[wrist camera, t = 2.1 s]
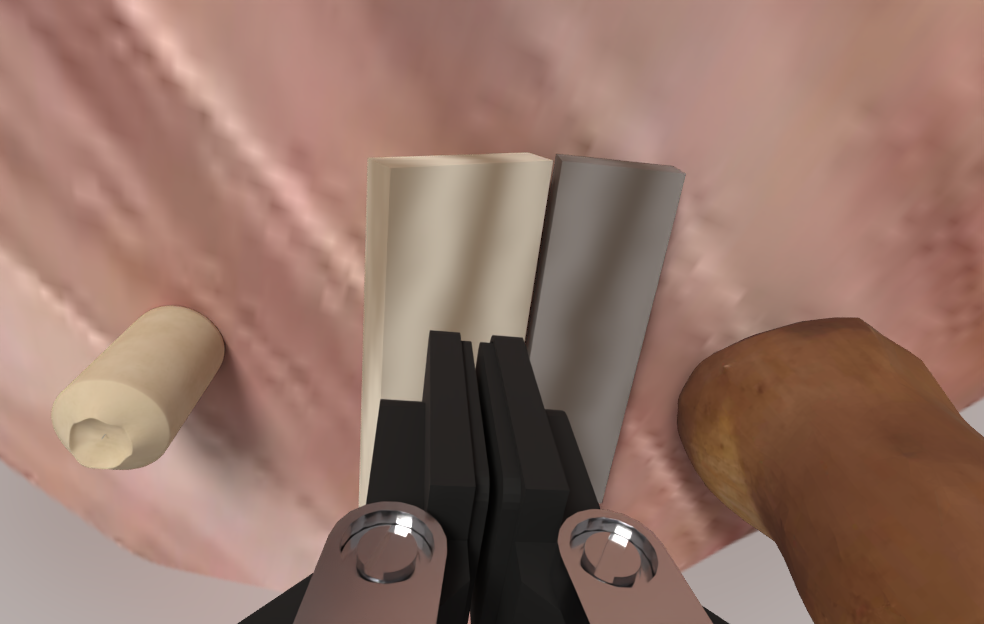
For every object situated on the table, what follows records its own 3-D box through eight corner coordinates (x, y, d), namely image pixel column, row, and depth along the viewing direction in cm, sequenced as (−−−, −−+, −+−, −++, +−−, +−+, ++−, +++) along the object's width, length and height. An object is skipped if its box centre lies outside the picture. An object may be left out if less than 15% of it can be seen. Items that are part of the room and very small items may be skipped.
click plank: (528, 152, 33) (553, 160, 32) (481, 484, 43) (499, 501, 42) (367, 157, 27) (390, 168, 25) (357, 544, 37) (373, 565, 36)
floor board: (673, 166, 34) (685, 173, 33) (595, 484, 45) (601, 503, 43) (556, 153, 34) (562, 160, 32) (503, 480, 44) (506, 500, 42)
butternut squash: (706, 474, 45) (971, 918, 23) (619, 354, 40) (852, 778, 17) (877, 377, 42) (1371, 774, 20) (808, 235, 37) (1374, 556, 15)
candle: (135, 294, 35) (31, 385, 26) (231, 316, 36) (162, 410, 27) (130, 370, 37) (32, 478, 28) (220, 389, 38) (153, 498, 30)
